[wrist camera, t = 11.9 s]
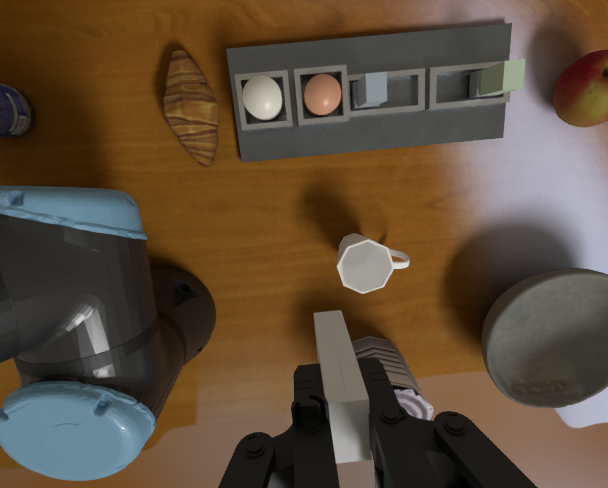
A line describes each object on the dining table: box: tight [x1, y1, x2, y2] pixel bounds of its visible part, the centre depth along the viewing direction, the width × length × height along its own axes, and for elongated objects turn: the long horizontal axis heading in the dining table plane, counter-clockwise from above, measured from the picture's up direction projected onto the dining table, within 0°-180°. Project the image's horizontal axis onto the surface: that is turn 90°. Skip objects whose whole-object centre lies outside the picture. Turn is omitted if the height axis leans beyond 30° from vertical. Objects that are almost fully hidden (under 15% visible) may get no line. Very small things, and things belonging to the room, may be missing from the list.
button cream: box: [243, 76, 282, 121], centre depth 36 cm, size 4×4×4 cm
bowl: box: [482, 268, 608, 408], centre depth 48 cm, size 21×21×8 cm
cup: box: [337, 233, 410, 294], centre depth 44 cm, size 7×10×8 cm
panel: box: [226, 23, 512, 162], centre depth 40 cm, size 34×13×5 cm, turn 95°
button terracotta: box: [303, 74, 341, 117], centre depth 38 cm, size 4×4×4 cm
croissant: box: [163, 50, 219, 167], centre depth 40 cm, size 14×7×5 cm, turn 9°
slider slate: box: [351, 72, 387, 109], centre depth 38 cm, size 3×3×6 cm
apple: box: [553, 50, 608, 127], centre depth 39 cm, size 8×8×8 cm
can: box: [351, 336, 434, 455], centre depth 48 cm, size 11×11×12 cm
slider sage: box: [469, 59, 526, 98], centre depth 38 cm, size 3×3×6 cm
